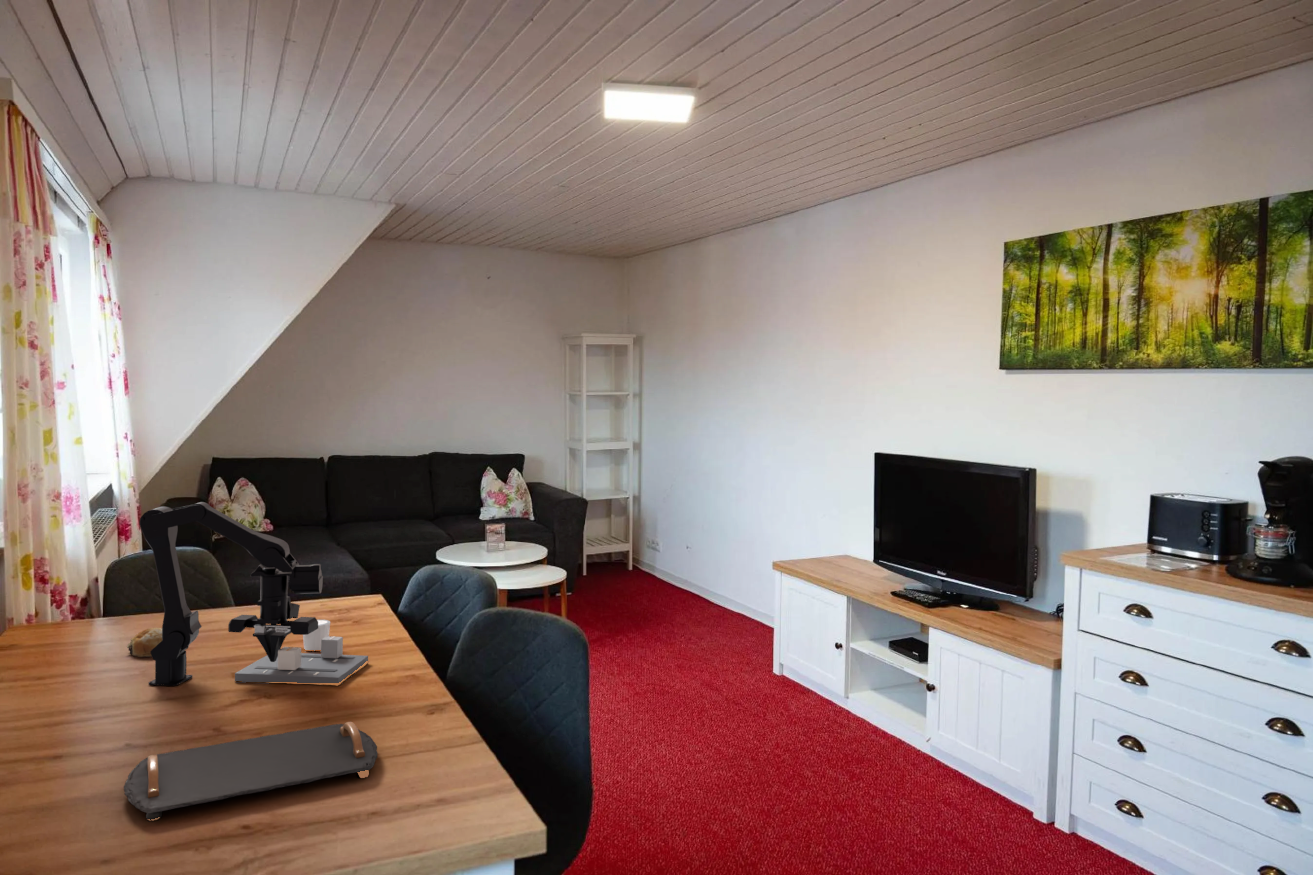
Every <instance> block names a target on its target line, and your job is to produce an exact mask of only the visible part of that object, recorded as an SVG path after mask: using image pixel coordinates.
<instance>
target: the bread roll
mask: <svg viewBox="0 0 1313 875" xmlns="http://www.w3.org/2000/svg"><path fill="white" fill-rule="evenodd" d="M161 641H162V627H148V628H146V629H143V630H142V631H140V632H138V633H137V634H136V635H134V636H133V637H132V638H131V639H130V642H129V643H128V644H127V646H126V647H127V649H128V651H129V654H130V655H132V656H133V657H138V658H152V655H151V653H150V651H151V650H152V649H153V648H155V647H156V646H157V645H158V644H159V643H160V642H161Z"/></svg>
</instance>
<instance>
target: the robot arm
mask: <svg viewBox="0 0 1313 875" xmlns="http://www.w3.org/2000/svg"><path fill="white" fill-rule="evenodd" d="M193 522H197V523H199V524H201V525H202V526H204V527H206V528H208V529H210V530H211V531H213V532H215V533H217V534H219V535H221V536H222V537H224V538H226V539H227V540H230V541H232V542H233V543H235V544H237V545H239V546H240V547H242V548H243V549H245V550H246V551H247V552H248V553H249V554H250V556H252V557H253V558H254V559H255V560H256V561H258V563H260V564H259V565H258V566H257V567H256V569H255V570H253V571H252V572H251V573H250V577H252V578H253V577H255V578H256V577H260V581H259V582H260V590H259V591H260V593H259V594H260V596H259V597H260V599H259V600H257V601H256V602H257V603H256V605H257V606H259V609H260V610H259V618H258V616H257V615H256V614H241V615H238V616H236V617H234V618H232V619H231V620H229V622H228V624H227V625H228V626H227V628H228V630H227V632H228V633H242V632H243V631H244V630H245V629H247V628H249V629H250V628H251V629H254V633H252V637H256V640H258V642H259V644H260V645H261V646H262V648H263V650H264V651H265V653H266V656H268V657H269V659H270V661H271V662H275V661H276V659H277V657H278V650H280V649H282V647H283V643H284V642H285V639H286V638H287V637H288V635H291V634H293V635H297V636H298V635H301V636H303V635H307V634H309V633H311V632H313V631H315V630H316V629H318V621H317V620H318V619H317V618H316V617H315V616H313V617H312V616H300V617H299V614H300V613H299V612H300V607H301V605H300V604H297V603H294V602H291V600H292V599H291V596H288V588H289V590H290V592H293V593H294V595H304V594H305V595H311V594H313V595H314V594H321V593H322V590H323V580H324V579H323V578H324V576H323V573H322V572H323V571H322V569H321V566H322V564H321V563H314V564H300V563H299V562H298V561H297V559H296V558H295V557H294V556H293V555H292V553H291V551H290V546H289V544H288V542H286V541H285V540H283V539H281V538H280V537H279V538H278V537H276V536H273V535H269V534H266V533H261V532H259V531H256V530H253V529H252V528H250V527H248V526H246V525H244V524H242V523H241V522H239V521H237V520H235V519H233V518H232V517H230V516H228V515H226V514H225V513H223V512H221V511H219V510H218V509H215V507H212V506H210V504H209V503H207V502H204V501H200V502H197V503H194V504H190V505H185V506H183V505H182V506H179V507H175V508H171V507H169V506H158V507H156V508H152V509H150V510H148V511H146V512H144V513H143V514H142V516H140V518H139V527H140V530H141V533H142V535H143V538H144V539H145V541H146V542H147V544H148V545H149V548H151V550H152V553H153V559H154V563H155V569H156V573H157V580H158V585H159V589H160V595H161V599H162V604H163V609H164V610H163V611H164V612H163V614H164V615H163V620H162V626H161V628H162V641H161V642H160V643H159V644H158V645H157V646H156V647H155V648H153V649H152V650H151V651H150V653H151V655H152V657H151V658H152V660H153V661H154V662H155V663H154V665H155V666H154V667H155V668H154V670H155V672H154V673H155V674H154V678H155V679H152V680H151V681H149V682H148V686H149V685H150V686H166V687H167V686H168V687H172V686H173V687H176V686H178V685H181V684H183V683H184V682H186V681H188V680H190V679H192V678H193V674H187V650H188V649H189V647H190V645H191V644H192V643H193V642H194V641H195V640H196V639H197V637H198V636H199V633H200V629H201V628H202V627H203V626H202V624H201V622H200V620H199V619H200V618H199V610H194V611H191V609H190V607H189V606H188V604H187V600H186V595H185V590H184V585H183V584H184V583H183V579H182V574H181V569H180V564H179V557H178V553H177V548H176V547H177V546H176V542H177V537H178V528H179V527H178V526H181V525H186V524H189V523H193ZM288 577H289V578H288ZM288 579H289V580H288ZM291 619H294V620H291Z"/></svg>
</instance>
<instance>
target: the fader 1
mask: <svg viewBox="0 0 1313 875" xmlns="http://www.w3.org/2000/svg"><path fill="white" fill-rule="evenodd" d="M301 653H302V647H295V646H282V647H281V649H280V650H278V669H279V670H296V669H297V668H299V667H301Z"/></svg>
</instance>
